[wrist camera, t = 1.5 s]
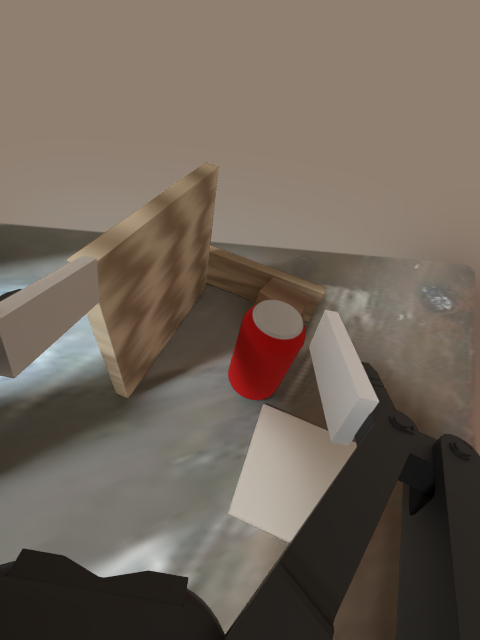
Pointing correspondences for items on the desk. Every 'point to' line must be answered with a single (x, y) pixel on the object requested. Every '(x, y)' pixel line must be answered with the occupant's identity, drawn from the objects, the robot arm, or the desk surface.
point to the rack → (166, 275)
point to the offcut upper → (284, 295)
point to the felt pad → (285, 473)
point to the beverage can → (265, 348)
